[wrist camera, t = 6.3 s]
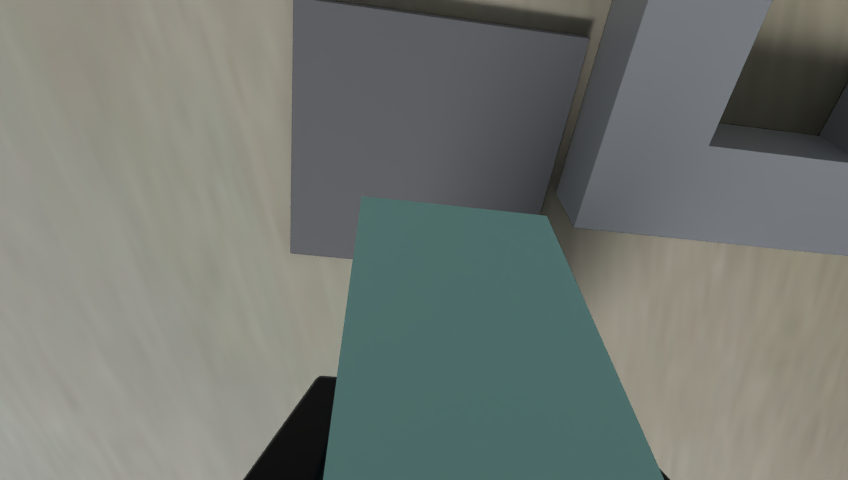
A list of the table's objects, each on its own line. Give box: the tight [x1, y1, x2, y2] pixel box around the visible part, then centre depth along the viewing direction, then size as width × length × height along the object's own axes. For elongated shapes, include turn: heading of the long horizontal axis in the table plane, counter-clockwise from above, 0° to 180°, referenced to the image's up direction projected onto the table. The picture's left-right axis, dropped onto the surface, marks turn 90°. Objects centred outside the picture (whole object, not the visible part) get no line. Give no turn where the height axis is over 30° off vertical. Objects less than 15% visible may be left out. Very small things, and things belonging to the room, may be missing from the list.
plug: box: [323, 196, 664, 480], centre depth 9 cm, size 4×4×10 cm
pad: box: [290, 0, 590, 259], centre depth 19 cm, size 9×9×1 cm
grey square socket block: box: [556, 0, 848, 256], centre depth 17 cm, size 12×12×2 cm
